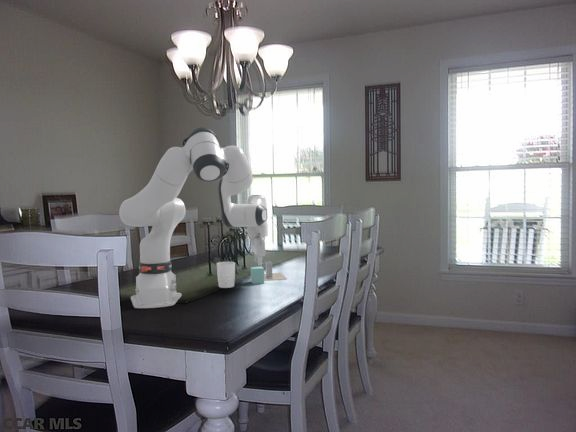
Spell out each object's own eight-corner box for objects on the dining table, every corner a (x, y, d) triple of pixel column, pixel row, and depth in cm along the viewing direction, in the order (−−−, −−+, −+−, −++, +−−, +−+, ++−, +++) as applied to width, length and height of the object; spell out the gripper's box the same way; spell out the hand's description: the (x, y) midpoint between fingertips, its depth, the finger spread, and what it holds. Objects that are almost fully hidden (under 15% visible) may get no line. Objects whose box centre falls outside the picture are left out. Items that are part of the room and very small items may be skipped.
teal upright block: (264, 283, 201) (264, 268, 201) (252, 284, 200) (252, 269, 200) (262, 280, 206) (262, 266, 206) (250, 281, 205) (250, 266, 205)
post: (287, 279, 209) (286, 263, 209) (256, 281, 206) (256, 265, 206) (280, 273, 223) (280, 259, 222) (252, 275, 220) (251, 260, 219)
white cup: (232, 288, 192) (231, 265, 191) (214, 288, 193) (213, 264, 193) (238, 284, 199) (237, 261, 199) (220, 284, 201) (220, 261, 200)
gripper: (268, 234, 191) (269, 267, 192) (261, 229, 212) (262, 259, 212) (253, 235, 190) (254, 268, 191) (247, 230, 210) (248, 260, 211)
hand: (258, 263), depth 202 cm, fingers open, 8 cm apart
